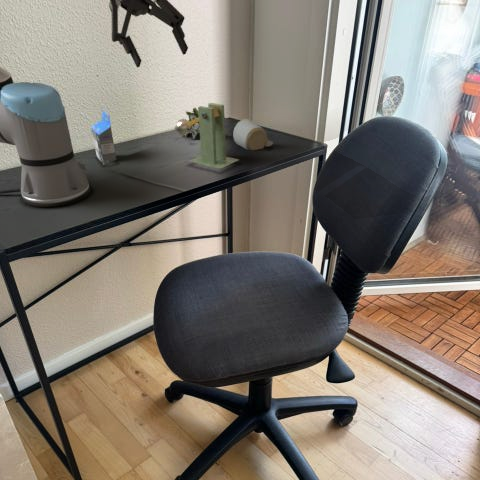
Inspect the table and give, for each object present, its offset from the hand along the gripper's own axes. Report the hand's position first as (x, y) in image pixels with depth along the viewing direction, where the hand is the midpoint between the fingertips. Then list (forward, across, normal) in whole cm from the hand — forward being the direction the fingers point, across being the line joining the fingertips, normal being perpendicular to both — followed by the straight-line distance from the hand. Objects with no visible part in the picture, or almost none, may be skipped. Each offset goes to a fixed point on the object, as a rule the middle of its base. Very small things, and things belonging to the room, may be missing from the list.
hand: (162, 57), depth 121 cm
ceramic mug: (+28, -18, -7) cm, 34 cm away
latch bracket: (+29, -1, -2) cm, 29 cm away
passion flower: (+17, -9, -20) cm, 28 cm away
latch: (+19, -1, 0) cm, 19 cm away
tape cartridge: (+14, +21, -18) cm, 31 cm away
